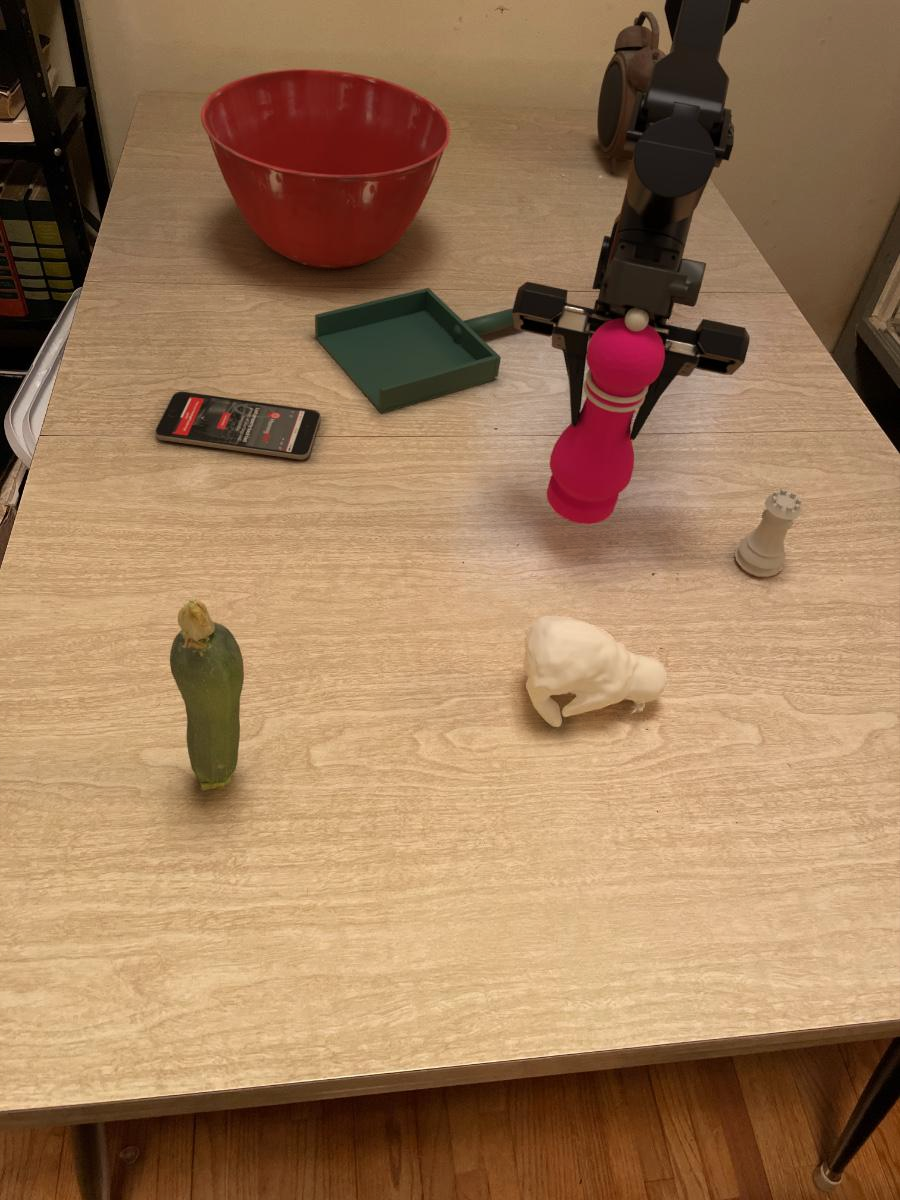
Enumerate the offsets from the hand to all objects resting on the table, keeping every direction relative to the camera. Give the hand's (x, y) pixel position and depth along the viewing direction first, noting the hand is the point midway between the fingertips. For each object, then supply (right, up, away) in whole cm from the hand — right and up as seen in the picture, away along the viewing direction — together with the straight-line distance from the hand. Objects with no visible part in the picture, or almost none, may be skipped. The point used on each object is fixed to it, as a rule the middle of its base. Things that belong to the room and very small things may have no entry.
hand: (602, 432), depth 79 cm
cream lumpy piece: (-2, -22, -2) cm, 22 cm away
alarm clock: (+13, +53, +68) cm, 87 cm away
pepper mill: (-1, -5, +8) cm, 9 cm away
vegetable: (-29, -27, -9) cm, 40 cm away
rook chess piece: (+16, -10, +11) cm, 22 cm away
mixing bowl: (-28, +31, +43) cm, 60 cm away
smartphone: (-33, +3, +17) cm, 37 cm away
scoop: (-14, +15, +29) cm, 35 cm away
